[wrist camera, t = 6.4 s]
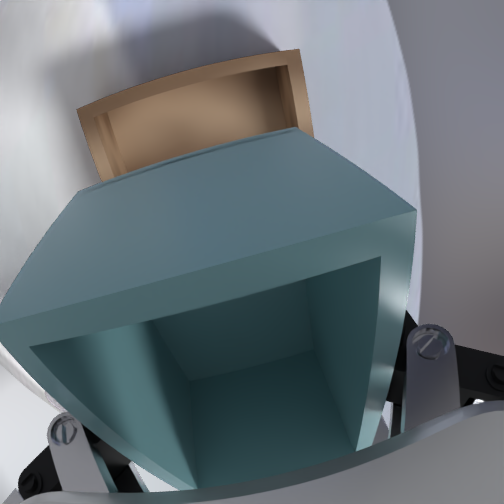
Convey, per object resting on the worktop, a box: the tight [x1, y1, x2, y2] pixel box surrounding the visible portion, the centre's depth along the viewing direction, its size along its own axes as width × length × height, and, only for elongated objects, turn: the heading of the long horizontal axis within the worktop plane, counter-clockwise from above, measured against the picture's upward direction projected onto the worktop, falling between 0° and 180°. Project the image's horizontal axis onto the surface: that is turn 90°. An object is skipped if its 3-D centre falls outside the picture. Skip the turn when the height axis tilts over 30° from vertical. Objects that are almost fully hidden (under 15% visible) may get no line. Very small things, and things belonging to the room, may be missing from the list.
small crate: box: [0, 127, 417, 490], centre depth 9 cm, size 10×7×6 cm
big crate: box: [76, 49, 314, 182], centre depth 23 cm, size 15×15×4 cm
